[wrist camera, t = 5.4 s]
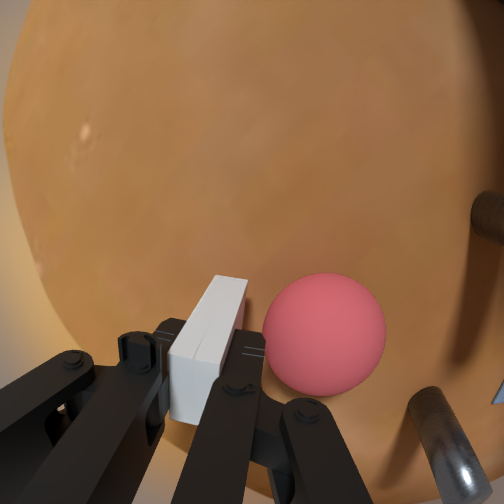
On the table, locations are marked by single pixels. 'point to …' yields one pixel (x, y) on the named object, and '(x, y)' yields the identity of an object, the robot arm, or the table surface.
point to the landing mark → (499, 395)
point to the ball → (324, 334)
